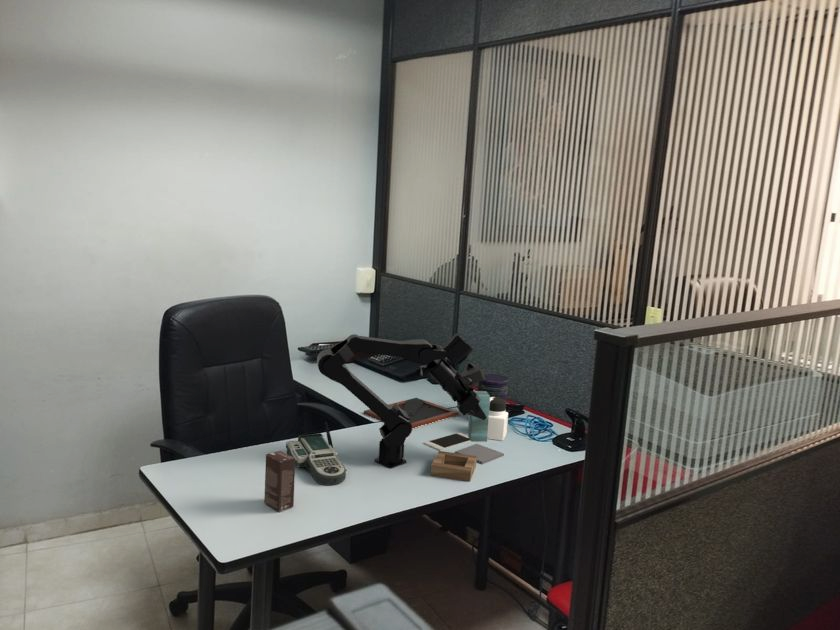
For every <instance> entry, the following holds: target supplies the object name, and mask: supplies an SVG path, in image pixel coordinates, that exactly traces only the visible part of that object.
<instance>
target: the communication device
mask: <svg viewBox="0 0 840 630" xmlns="http://www.w3.org/2000/svg"><path fill="white" fill-rule="evenodd" d="M324 427H325V432H326V438H325V437H324V435H323V434H322V433H319V432H318V433H312V434H309V433H308V434H303V435H301V434H300V435H298V436H297V440H292V441H291V440H289V441H285V448H286V454H288V455H290V456H292V457H294V458H295V467H297V468H304V467H305V468H306V469H307V470H308V472H310V474H311V475H312V477H313V478H314V480H315V481H316V482H317V484H320V485H324V486H335V485H340V484H341V483H343V482H344V481H345V480H346V476H347V474H346V472H347V468H346V466H345V465H344V464H343V463H342V462H341V460H340V458H339V457H338V456H337V455H338V452H336V451H335V449H334V445H333V444H334V443H333V440H332V436H331V433H330V428H329V425H328V421H324ZM326 439H327V440H326Z"/></svg>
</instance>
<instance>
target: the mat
mask: <svg viewBox="0 0 840 630" xmlns="http://www.w3.org/2000/svg"><path fill="white" fill-rule="evenodd" d="M454 453H458V454H465V455H472V456H477V460H476V463H479V464H481V465H483V464H486V463H489V462H492V461H494V460H496V459H499V458H501V457H503V456H505V453H504V452H501V451H497V450H495V449H493V448H489V447H488V446H485V445H482V444H479V443H475V444H472V445H469V446H467V447H463V448H461V449H457V450H456V451H454Z"/></svg>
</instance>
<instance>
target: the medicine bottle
mask: <svg viewBox="0 0 840 630" xmlns="http://www.w3.org/2000/svg"><path fill="white" fill-rule="evenodd" d="M505 410H507V400H506V401H505V400H504V399H502V398H500V397H490V404H489V418H488V433H487V440H489V439H490V440H494V441H495V440H496V441H501V442H502V441H504V440H505V437H506V436H507V430H508V420H509V412H507V411H506V412H505Z"/></svg>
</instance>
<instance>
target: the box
mask: <svg viewBox="0 0 840 630" xmlns="http://www.w3.org/2000/svg"><path fill="white" fill-rule="evenodd" d="M264 471H265V475H264V499H263V500H264V501H263V502H264V504H265V505H267V506H268V507H270V508H272V510H273V509H274V510H275V511H277V512H279V513H280V512H284V511H287V510H289V509H292V508H293V507H294V501H295V500H294V498H295V477H296V476H295V475H296V474H295V473H296V466H295V458H294V457H292V456H290V455H288V454H287V452H283V451H281V450H278V451H274V452H270V453H266V454H265V470H264Z"/></svg>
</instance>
